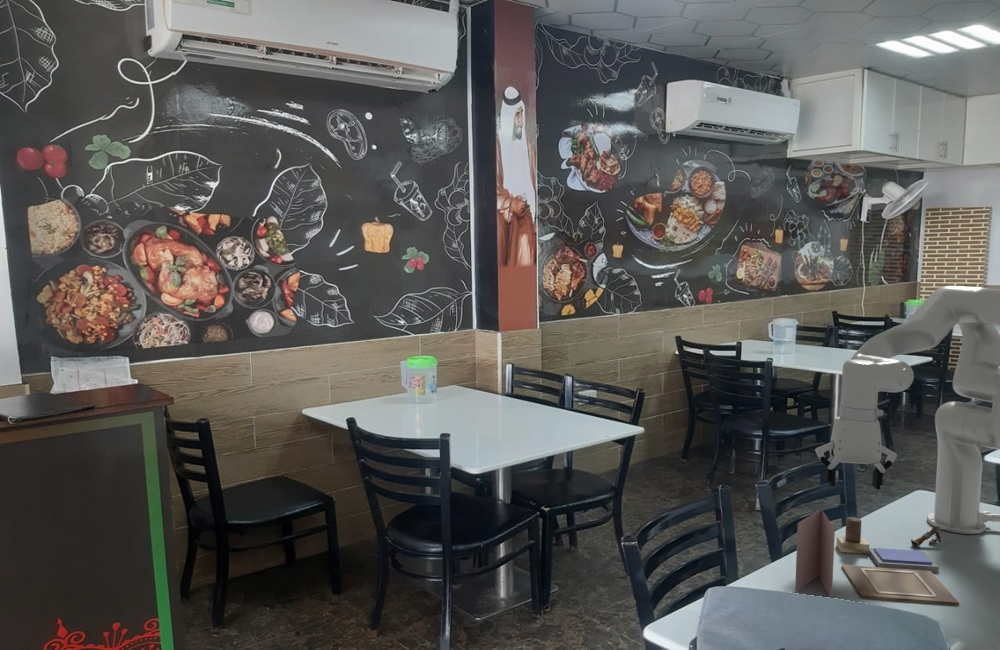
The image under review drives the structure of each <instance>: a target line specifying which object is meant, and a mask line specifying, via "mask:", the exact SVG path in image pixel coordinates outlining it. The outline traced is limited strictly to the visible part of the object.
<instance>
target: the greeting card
mask: <svg viewBox="0 0 1000 650" xmlns="http://www.w3.org/2000/svg"><path fill="white" fill-rule="evenodd" d="M796 532H797V534H796V535H797V536H796V559H795V561H796V563H795V584H794V585H795V587H794V588H795V589H794V590H795V591H794V593H795V592H796V593H798V592H799V591H800V590H802V589H803V588H804V587H805V585H806V586H807V585H808V584H809V583H811V582H813V580H815V579H816V578H817V577H819V579H820V581H821V583H822V585H823V586H824V589H825V591H826V593H827V594H828V596H829V598H830V597H832V598H833V582H834V581H833V580H834V579H833V578H834V560H835V558H834V557H835V538H836V537H835V536H836V533H835V532H836V529H835V527H834V526H833V525H832V523H831V521H830V520H829V518H828V517H827V515H826V514H825V512H824V510H823V509H822V508H820V509H818V510H817V511H815V512H814V513H812V514H810V515H809V516H807V517H805V518H803V519H802V520H801V521H799V522H798V523H797V531H796ZM803 586H804V587H803ZM802 587H803V588H802ZM801 588H802V589H801ZM799 589H800V590H799ZM798 590H799V591H798ZM797 591H798V592H797Z"/></svg>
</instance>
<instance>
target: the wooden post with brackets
mask: <svg viewBox="0 0 1000 650" xmlns="http://www.w3.org/2000/svg"><path fill="white" fill-rule="evenodd" d="M939 531H941V529H940V526H933V527H932V528H931V529H930V530H929V531H926V532H925V533H924V534H922V536H920V537H918V538H917V539H910V542H911V545H912V546H914V547H915V548H917V549H920V546H921V545H922V544H923V543H924V542H925V541H927V540H929V539H930V538H931V537H933V536H935V538H934V539H933V538H931V540H929V541H928V546H934V545H937V542H938V543H942V542H943V540H942V536H941V535H940V532H939Z"/></svg>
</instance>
